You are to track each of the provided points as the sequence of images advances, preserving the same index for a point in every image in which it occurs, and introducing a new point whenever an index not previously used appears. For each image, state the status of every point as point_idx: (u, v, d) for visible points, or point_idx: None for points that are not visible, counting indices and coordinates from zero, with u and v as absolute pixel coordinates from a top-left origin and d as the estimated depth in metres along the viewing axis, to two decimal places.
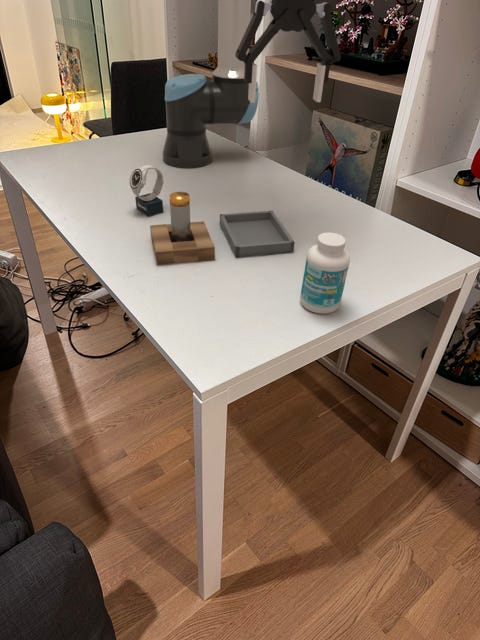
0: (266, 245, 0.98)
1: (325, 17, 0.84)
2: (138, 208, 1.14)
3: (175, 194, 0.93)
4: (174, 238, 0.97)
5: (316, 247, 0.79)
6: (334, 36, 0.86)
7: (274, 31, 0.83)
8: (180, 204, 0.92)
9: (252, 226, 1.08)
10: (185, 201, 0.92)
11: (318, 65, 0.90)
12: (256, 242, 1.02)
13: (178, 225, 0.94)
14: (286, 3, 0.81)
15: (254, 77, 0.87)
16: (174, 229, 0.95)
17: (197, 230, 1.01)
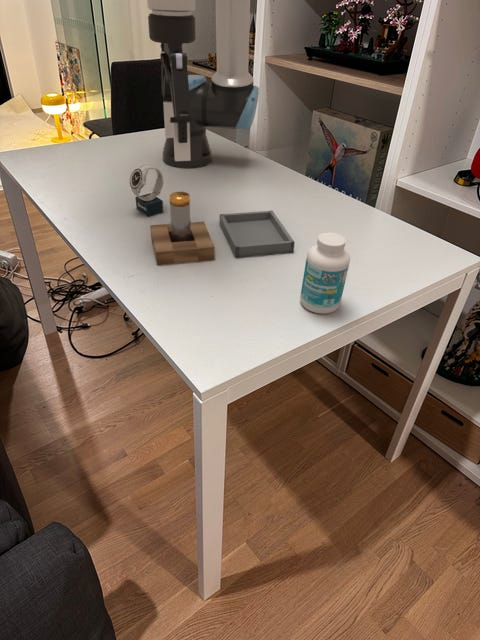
0: (266, 245, 0.98)
1: (171, 68, 0.73)
2: (138, 208, 1.14)
3: (175, 194, 0.93)
4: (174, 238, 0.97)
5: (316, 247, 0.79)
6: (173, 91, 0.73)
7: None
8: (180, 204, 0.92)
9: (252, 226, 1.08)
10: (185, 201, 0.92)
11: None
12: (256, 242, 1.02)
13: (178, 225, 0.94)
14: (165, 47, 0.78)
15: (164, 113, 0.89)
16: (174, 229, 0.95)
17: (197, 230, 1.01)
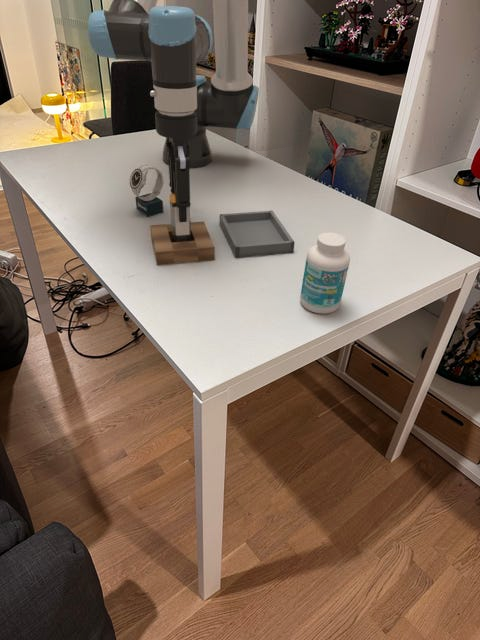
0: (266, 245, 0.98)
1: (175, 166, 0.84)
2: (138, 208, 1.14)
3: None
4: (174, 238, 0.97)
5: (316, 247, 0.79)
6: (176, 186, 0.86)
7: None
8: None
9: (252, 226, 1.08)
10: None
11: None
12: (256, 242, 1.02)
13: None
14: None
15: None
16: (174, 229, 0.95)
17: (197, 230, 1.01)
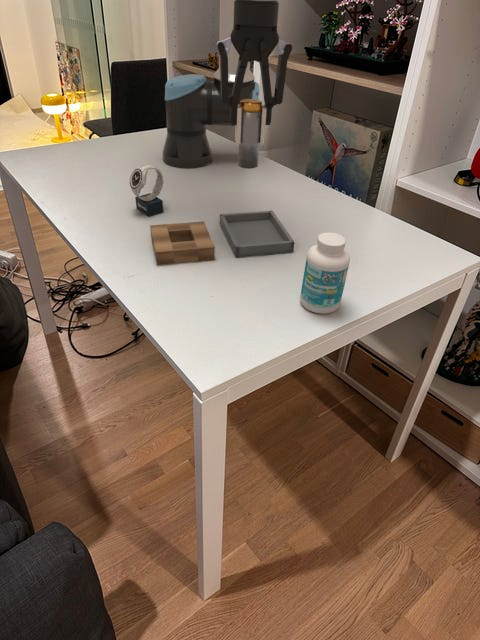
0: (266, 245, 0.98)
1: (282, 55, 0.82)
2: (138, 208, 1.14)
3: (247, 102, 0.86)
4: (255, 151, 0.91)
5: (316, 247, 0.79)
6: (283, 78, 0.84)
7: (243, 67, 0.82)
8: (261, 107, 0.87)
9: (252, 226, 1.08)
10: None
11: None
12: (256, 242, 1.02)
13: (259, 133, 0.90)
14: (243, 29, 0.78)
15: (239, 119, 0.87)
16: (256, 140, 0.90)
17: (197, 230, 1.01)
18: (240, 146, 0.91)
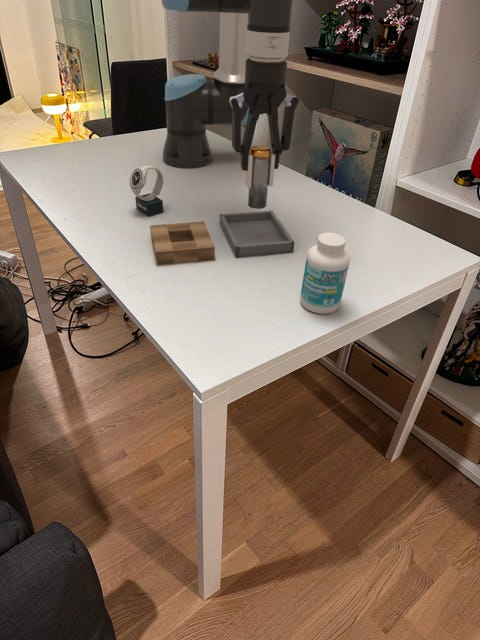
0: (266, 245, 0.98)
1: (290, 108, 0.88)
2: (138, 208, 1.14)
3: (258, 150, 0.92)
4: (265, 193, 0.97)
5: (316, 247, 0.79)
6: (291, 128, 0.91)
7: (255, 119, 0.88)
8: None
9: (252, 226, 1.08)
10: None
11: None
12: (256, 242, 1.02)
13: (268, 177, 0.96)
14: (255, 87, 0.84)
15: (250, 166, 0.93)
16: (266, 183, 0.96)
17: (197, 230, 1.01)
18: (251, 189, 0.97)
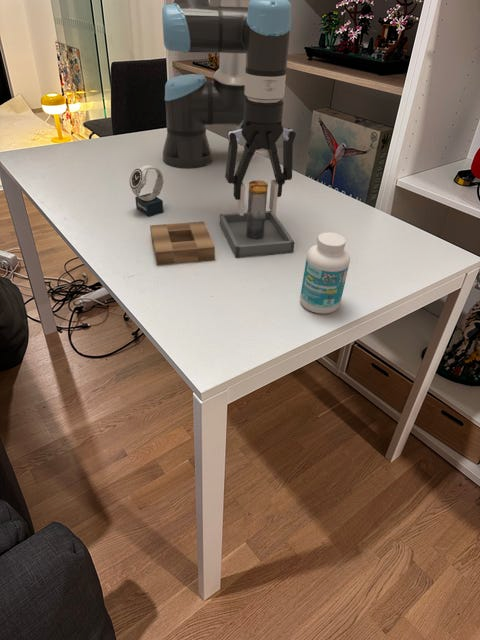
0: (266, 245, 0.98)
1: (288, 141, 0.92)
2: (138, 208, 1.14)
3: (255, 185, 0.97)
4: (262, 225, 1.02)
5: (316, 247, 0.79)
6: (291, 159, 0.95)
7: (251, 154, 0.92)
8: None
9: None
10: None
11: (272, 182, 0.99)
12: (256, 242, 1.02)
13: (265, 209, 1.01)
14: (254, 125, 0.89)
15: (242, 195, 0.97)
16: (263, 216, 1.01)
17: (197, 230, 1.01)
18: (249, 221, 1.01)
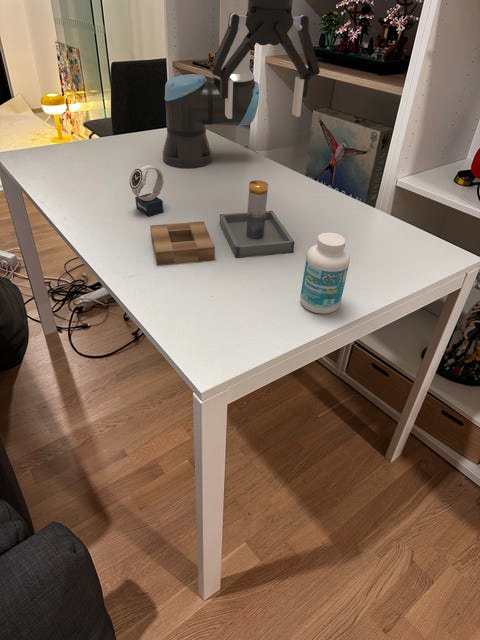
0: (266, 245, 0.98)
1: (302, 30, 0.81)
2: (138, 208, 1.14)
3: (256, 185, 0.97)
4: (262, 225, 1.02)
5: (316, 247, 0.79)
6: (312, 49, 0.83)
7: (250, 45, 0.80)
8: None
9: None
10: None
11: (296, 79, 0.87)
12: (256, 242, 1.02)
13: None
14: (262, 16, 0.78)
15: (230, 92, 0.84)
16: (264, 216, 1.01)
17: (197, 230, 1.01)
18: (249, 221, 1.01)
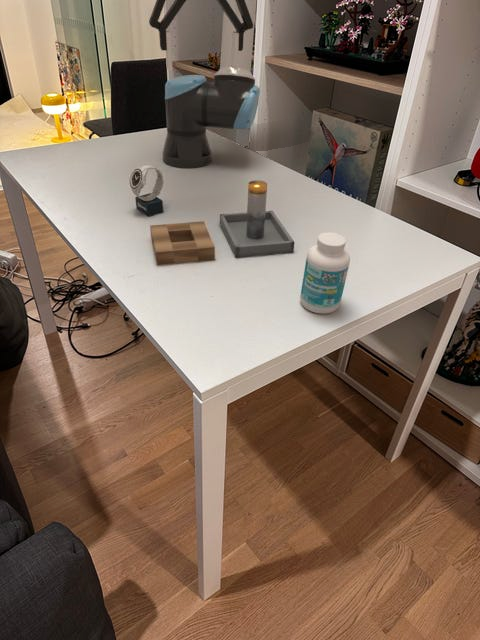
0: (266, 245, 0.98)
1: None
2: (138, 208, 1.14)
3: (255, 185, 0.97)
4: (262, 225, 1.02)
5: (316, 247, 0.79)
6: (244, 3, 0.89)
7: None
8: None
9: None
10: None
11: (232, 33, 0.93)
12: (256, 242, 1.02)
13: (265, 209, 1.01)
14: None
15: (168, 44, 0.90)
16: (263, 215, 1.01)
17: (197, 230, 1.01)
18: (248, 221, 1.01)
